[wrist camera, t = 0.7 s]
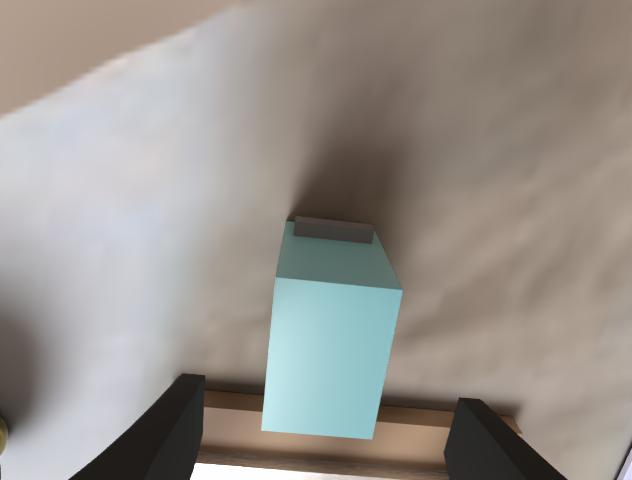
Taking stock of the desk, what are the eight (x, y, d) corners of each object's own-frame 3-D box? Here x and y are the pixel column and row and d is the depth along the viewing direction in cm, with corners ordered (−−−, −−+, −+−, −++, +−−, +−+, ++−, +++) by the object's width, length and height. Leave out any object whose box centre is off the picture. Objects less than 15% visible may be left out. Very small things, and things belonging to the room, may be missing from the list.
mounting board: (511, 416, 22) (522, 434, 21) (471, 535, 25) (479, 555, 24) (171, 387, 21) (163, 403, 20) (170, 513, 24) (164, 534, 23)
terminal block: (377, 217, 18) (406, 272, 13) (355, 344, 21) (372, 439, 15) (287, 207, 18) (277, 259, 13) (274, 337, 20) (261, 430, 15)
